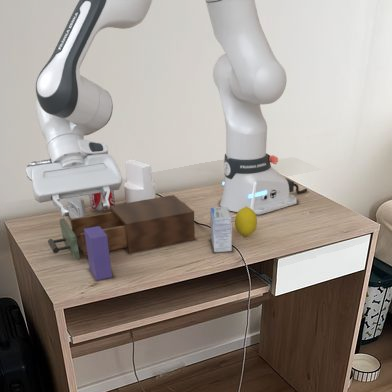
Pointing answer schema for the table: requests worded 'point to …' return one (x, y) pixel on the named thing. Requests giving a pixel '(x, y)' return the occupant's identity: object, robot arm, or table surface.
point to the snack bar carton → (98, 252)
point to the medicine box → (221, 229)
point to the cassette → (76, 207)
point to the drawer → (76, 235)
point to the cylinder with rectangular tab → (138, 182)
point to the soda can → (97, 199)
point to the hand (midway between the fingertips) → (86, 211)
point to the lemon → (245, 221)
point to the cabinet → (155, 222)
